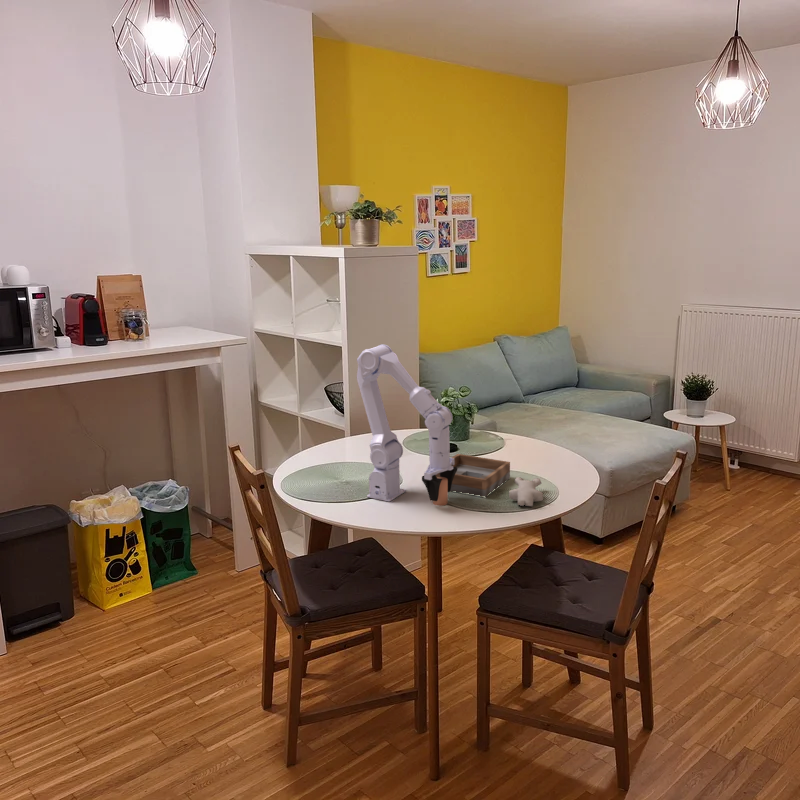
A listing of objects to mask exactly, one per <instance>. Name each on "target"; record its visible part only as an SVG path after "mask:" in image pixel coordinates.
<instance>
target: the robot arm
mask: <svg viewBox="0 0 800 800" xmlns="http://www.w3.org/2000/svg"><path fill="white" fill-rule="evenodd" d="M356 362H357V363H356V364H357V372H356V381H357V384H358V388H359V391H360V395H361V399H362V402H363V407H364V410H365V414H366V417H367V421H368V424H369V427H370V432H371V435H372V437H371V439H370V440H371V441H370V443H369V448H370V453H369V455H370V456H369V459H370V462H371V464H372V465H373V466H374V469H373V470H372V472H370V474H369V477H368V484H369V485H368V486H369V491H368V492H369V493H368V494H367V496H366V497H367V498H371V499H375V500H380V501H385V502H391V501H393V500H394V499H396V498H398V497H399V496H401V495H402V494H404V493H405V492H407V490H406V489H405V488H401V477H400V471H401V470H400V459H401V457H403V453H404V447H403V445H402V443H400V441H399V439H398V436H397V434H395V433H394V432H393V431H392V430H391V428H390V423H389V420H388V417H387V416H388V415H387V414H386V413H387V412H386V409H385V405H384V402H383V398H382V394H381V390H380V387H379V383H378V378H379V376H380V375H381V374H383V375H389V376H391V378H393V379H394V380H395V381H396V382H397V384H398V385H400V387H401V388H402V389H404V390H405V392H407V393H408V395H409V396H408V397H409V402H410V404H411V405H413V407H414V408H415V409H416V410H417V412H418V413H419V415H421V416H422V417H423V419H425V420H424V425H425V427H426V428H427V429H428V447H429V451H428V452H429V454H428V455H429V465H428V466H427V468H426V471H424V472H423V476H421V481H422V483H423V484H424V485H425V489H426V490H427V494H428V497H429V500H430V501H437V500H438V495H439V487H440V483H441V481H442V479H439V478H437V477H436V475H437V474H438V473H440V477H445V478H447V479H448V493H450V490H451V486H452V481H453V478H454V476H455V473H456V472H457V467H453V465H455V462H454V458H452V457H450V455H451V454H450V450H451V449H450V447H451V446H450V425H451V423H452V421H453V414H452V412H451V410H450V408H449V407H447V406H444V405H442V404H441V403H439V402H438V401H437V400H436V399H435V397H434V396H433V395H432V394H431V393H432V391H431V390H430V389H427V388H426V387H423V386H419V385H418V384H417V382H416V381H415V380H414V378H413V376H411V375H410V374H409V372H408V371H407V369H406V368H405V367H404V365H403V364H402V363H401V362H400V359H399V357H398V355H397V354H396V353H395V352H394V351H393V349H392V348H391V347H390V346H389V345H387V344H383V343H382V344H379V345H377V346H374V347H372V348H366V349H364V350H362V352H360V354H359V356H358V357H357V359H356Z"/></svg>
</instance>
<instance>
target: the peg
mask: <svg viewBox="0 0 800 800" xmlns="http://www.w3.org/2000/svg"><path fill="white" fill-rule="evenodd" d="M437 478H439V479H442V481H441V483H440V487H439V495H438V500H437V501H432V500H431V501H432V504H433V505H434V506H439V507H440V506H441V507H442V506H445V505H447V504H448V503H449V492H448V479H447V478H445V477H437Z"/></svg>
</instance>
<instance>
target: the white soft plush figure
mask: <svg viewBox="0 0 800 800" xmlns="http://www.w3.org/2000/svg"><path fill="white" fill-rule="evenodd" d="M513 482H514V484H516V485H517V486H518V487H517V488H514V489H510V490H508V499H511V500H514V501H517V506H518V505H520V507H521V506H522V507H533V506H534V502H540V501H543V500H544V493H543V492H542V491H540V490H537V487H538V486H541V485H542V480H541V478H538V477H537V478H533V479H532V480H527V479H526V480H525V479H524V478H522V477H519V476H518V477H517V476H516V477H515V479H514V481H513ZM524 505H525V506H524Z"/></svg>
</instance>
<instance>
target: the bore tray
mask: <svg viewBox="0 0 800 800" xmlns="http://www.w3.org/2000/svg"><path fill="white" fill-rule="evenodd" d="M451 458H454V462H455V465H453V467H457V472H456V473H455V476H454V478H453V481H452V486H451V490H450V491H456V492H462V493H469V494H474V495H480V496H485V497H486V496H487V495H488V494H489V493H490V492H492V491H493V490H494V489H496V488H497V487H498V486H500V485H501V484H502V483H504V482H505V481H506V480H508V479H509V478H510V479H511V461H508V460H507V461H506V460H501V459H493V458H487V457H480V456H475V455H469V454H463V453H457V454H455V455H453V456H451ZM436 477H440V473H438V474H437V475H436ZM510 479H509V480H510ZM509 480H508V481H509ZM505 483H506V482H505ZM505 483H504V484H505ZM501 486H502V485H501ZM501 486H500V487H501ZM496 490H497V489H496ZM487 497H488V496H487ZM487 497H486V498H487Z"/></svg>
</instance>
